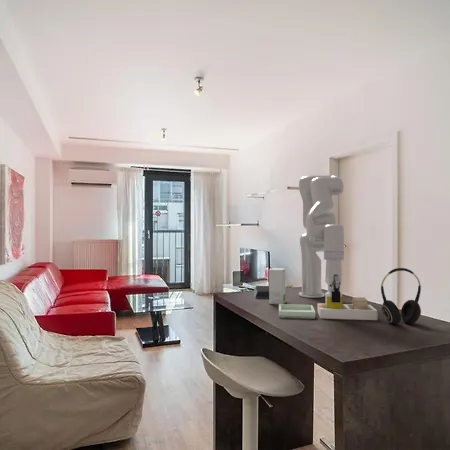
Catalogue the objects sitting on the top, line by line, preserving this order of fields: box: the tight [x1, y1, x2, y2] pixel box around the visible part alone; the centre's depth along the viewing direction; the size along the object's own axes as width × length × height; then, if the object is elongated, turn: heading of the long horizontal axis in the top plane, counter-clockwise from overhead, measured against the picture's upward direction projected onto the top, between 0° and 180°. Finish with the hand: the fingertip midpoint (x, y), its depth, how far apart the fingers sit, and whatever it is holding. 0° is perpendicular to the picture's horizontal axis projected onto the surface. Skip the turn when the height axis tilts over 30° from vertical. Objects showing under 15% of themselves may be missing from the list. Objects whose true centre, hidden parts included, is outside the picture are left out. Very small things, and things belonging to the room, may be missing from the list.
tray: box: [278, 303, 316, 320], centre depth 146 cm, size 13×14×2 cm
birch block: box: [352, 296, 368, 310], centre depth 142 cm, size 4×4×7 cm
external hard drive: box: [252, 285, 269, 299], centre depth 187 cm, size 13×19×4 cm
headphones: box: [380, 267, 422, 325], centre depth 132 cm, size 9×15×20 cm, turn 95°
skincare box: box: [268, 267, 286, 306], centre depth 168 cm, size 8×7×16 cm
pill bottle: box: [324, 285, 344, 309], centre depth 144 cm, size 6×6×12 cm
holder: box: [317, 303, 378, 321], centre depth 143 cm, size 10×21×4 cm, turn 82°
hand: (334, 299), depth 144 cm, fingers open, 9 cm apart
